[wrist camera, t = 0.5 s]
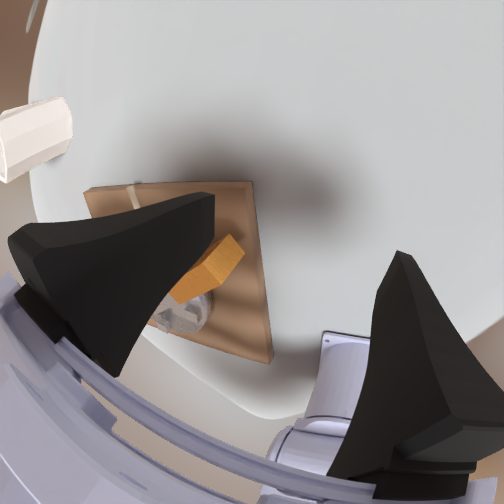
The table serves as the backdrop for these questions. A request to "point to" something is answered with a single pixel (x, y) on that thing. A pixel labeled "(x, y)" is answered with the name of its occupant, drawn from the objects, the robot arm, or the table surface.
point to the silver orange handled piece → (198, 289)
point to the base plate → (226, 222)
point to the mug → (33, 136)
